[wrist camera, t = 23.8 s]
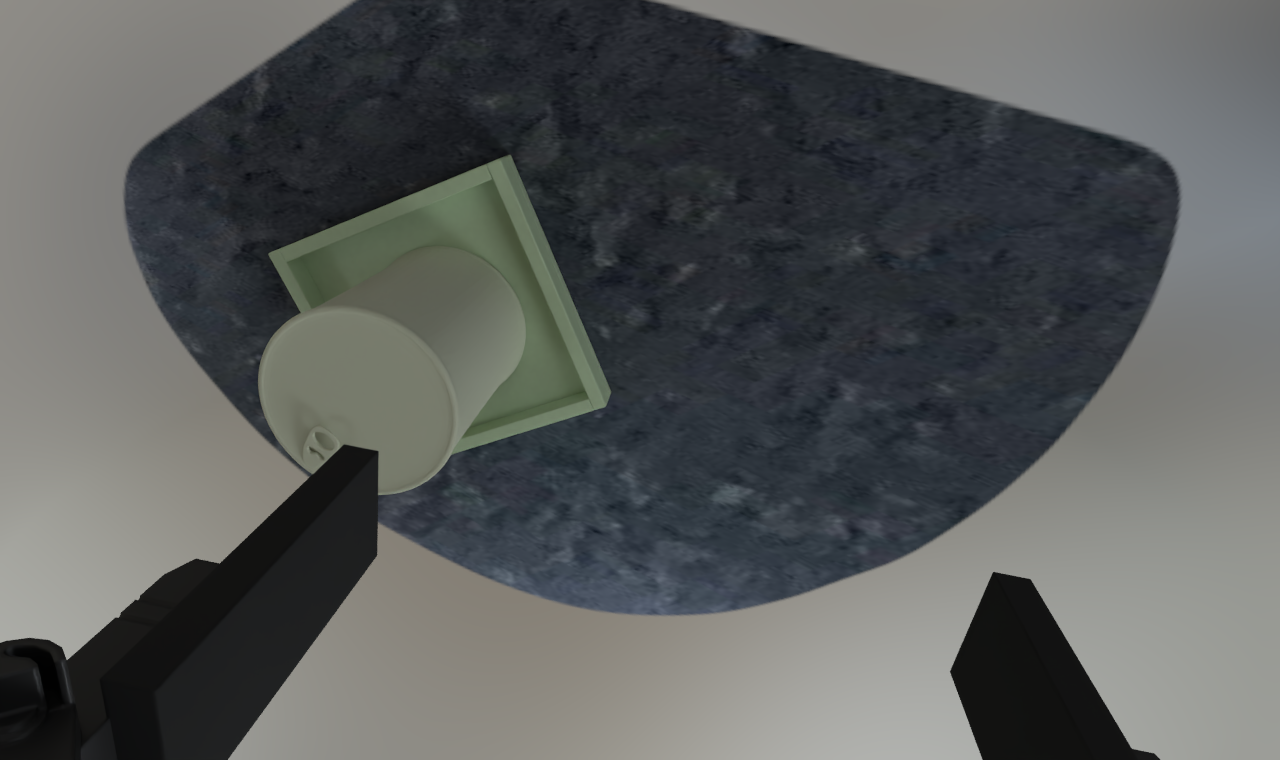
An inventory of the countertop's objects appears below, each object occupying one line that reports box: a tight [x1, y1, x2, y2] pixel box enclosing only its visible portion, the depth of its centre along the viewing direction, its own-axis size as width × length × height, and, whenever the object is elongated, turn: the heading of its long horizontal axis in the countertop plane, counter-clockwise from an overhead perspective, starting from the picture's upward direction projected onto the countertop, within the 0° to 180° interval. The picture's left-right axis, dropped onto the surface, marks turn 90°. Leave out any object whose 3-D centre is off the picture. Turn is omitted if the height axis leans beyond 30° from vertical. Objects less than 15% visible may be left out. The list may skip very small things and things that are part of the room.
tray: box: [268, 155, 611, 454], centre depth 42 cm, size 15×15×2 cm
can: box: [258, 246, 526, 495], centre depth 37 cm, size 9×9×12 cm
